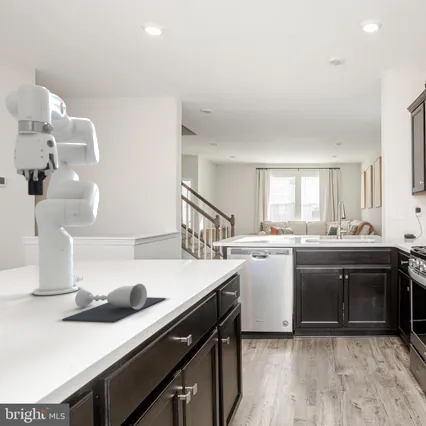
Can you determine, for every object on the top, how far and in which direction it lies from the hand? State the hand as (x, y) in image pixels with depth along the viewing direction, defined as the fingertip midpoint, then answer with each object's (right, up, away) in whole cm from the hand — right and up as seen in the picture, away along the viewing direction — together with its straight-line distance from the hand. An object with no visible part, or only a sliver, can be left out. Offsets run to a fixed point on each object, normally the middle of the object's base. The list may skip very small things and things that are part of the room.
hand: (35, 195), depth 105 cm
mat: (+24, -32, -1) cm, 40 cm away
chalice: (+13, -30, +1) cm, 32 cm away
